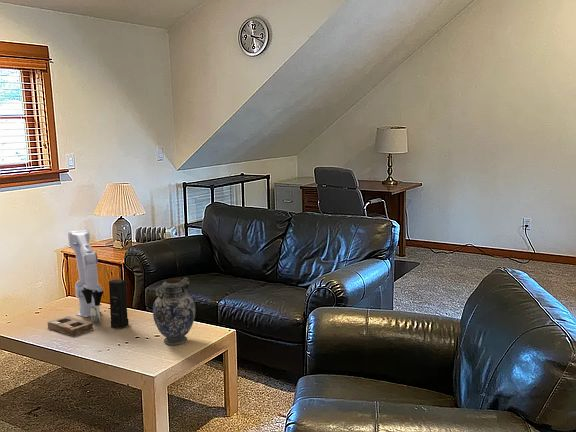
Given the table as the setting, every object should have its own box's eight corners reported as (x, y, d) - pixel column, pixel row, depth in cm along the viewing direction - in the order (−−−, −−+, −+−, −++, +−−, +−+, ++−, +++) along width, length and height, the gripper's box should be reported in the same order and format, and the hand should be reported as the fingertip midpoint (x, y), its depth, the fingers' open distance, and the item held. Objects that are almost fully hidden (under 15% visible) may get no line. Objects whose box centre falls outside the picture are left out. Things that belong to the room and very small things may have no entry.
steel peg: (96, 321, 283) (95, 305, 282) (101, 322, 281) (100, 306, 280) (89, 323, 280) (88, 307, 279) (94, 324, 278) (93, 308, 277)
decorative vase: (174, 330, 268) (172, 272, 263) (206, 336, 259) (204, 277, 255) (142, 345, 249) (140, 283, 245) (176, 353, 241) (174, 289, 236)
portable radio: (108, 327, 274) (105, 276, 270) (116, 323, 279) (113, 273, 276) (121, 329, 271) (118, 278, 267) (129, 325, 276) (126, 275, 273)
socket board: (68, 321, 283) (67, 315, 282) (93, 329, 271) (92, 322, 271) (47, 328, 274) (47, 321, 274) (72, 336, 263) (72, 329, 262)
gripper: (107, 277, 276) (108, 304, 277) (90, 274, 285) (92, 300, 287) (93, 280, 270) (95, 307, 272) (77, 276, 280) (79, 303, 281)
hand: (93, 304), depth 279 cm, fingers open, 7 cm apart
